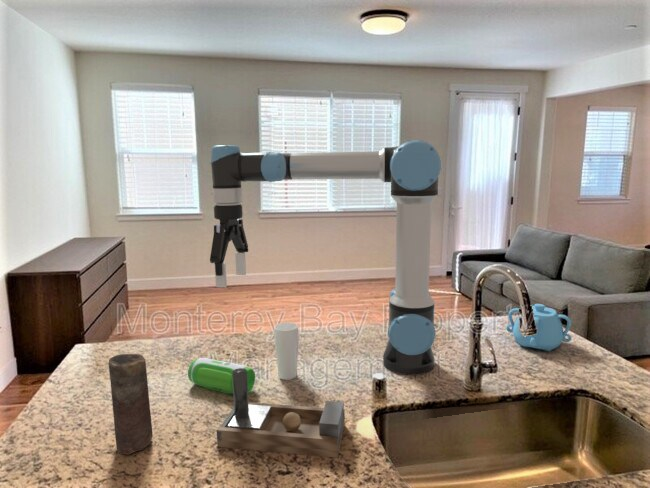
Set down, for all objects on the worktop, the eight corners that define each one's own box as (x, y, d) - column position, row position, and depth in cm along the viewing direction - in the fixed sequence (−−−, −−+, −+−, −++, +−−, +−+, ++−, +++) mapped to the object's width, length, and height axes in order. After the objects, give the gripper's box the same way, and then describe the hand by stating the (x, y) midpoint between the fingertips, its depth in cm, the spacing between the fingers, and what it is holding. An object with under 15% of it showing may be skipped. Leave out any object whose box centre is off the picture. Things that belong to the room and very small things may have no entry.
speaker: (257, 388, 123) (256, 362, 122) (241, 401, 117) (240, 373, 116) (204, 377, 130) (203, 352, 129) (187, 388, 124) (185, 362, 123)
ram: (271, 415, 106) (269, 364, 104) (259, 438, 98) (257, 382, 95) (242, 413, 108) (239, 362, 105) (228, 435, 99) (225, 380, 97)
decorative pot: (576, 353, 143) (579, 311, 141) (527, 355, 142) (530, 313, 139) (546, 334, 159) (549, 296, 157) (501, 336, 158) (504, 298, 155)
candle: (123, 435, 102) (115, 351, 99) (157, 433, 103) (150, 349, 100) (111, 457, 95) (101, 366, 91) (147, 454, 95) (139, 365, 92)
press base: (344, 425, 105) (344, 399, 104) (337, 457, 94) (337, 428, 93) (237, 416, 110) (235, 391, 108) (217, 446, 98) (215, 418, 97)
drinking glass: (296, 383, 126) (294, 331, 123) (272, 381, 127) (270, 329, 125) (302, 372, 132) (301, 322, 130) (279, 370, 134) (278, 321, 131)
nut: (302, 425, 103) (302, 409, 102) (298, 436, 99) (298, 419, 98) (285, 424, 103) (284, 407, 103) (280, 434, 99) (280, 417, 99)
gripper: (233, 200, 136) (236, 269, 139) (192, 208, 112) (198, 292, 115) (257, 200, 134) (260, 270, 138) (221, 208, 110) (225, 293, 114)
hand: (231, 280), depth 127 cm, fingers open, 13 cm apart
